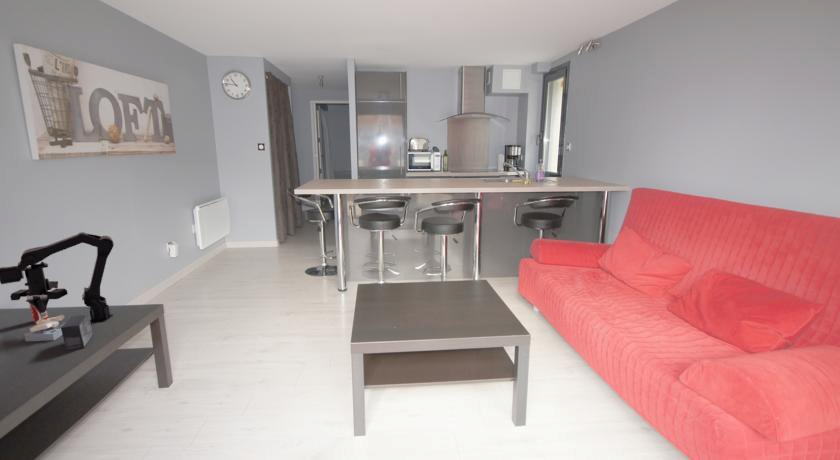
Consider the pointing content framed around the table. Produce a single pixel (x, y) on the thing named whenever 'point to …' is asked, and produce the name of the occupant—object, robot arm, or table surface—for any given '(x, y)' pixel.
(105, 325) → the table surface
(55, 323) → the rocker
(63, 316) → the rocker
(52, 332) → the switch unit
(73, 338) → the small box
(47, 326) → the rocker
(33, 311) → the soda can
